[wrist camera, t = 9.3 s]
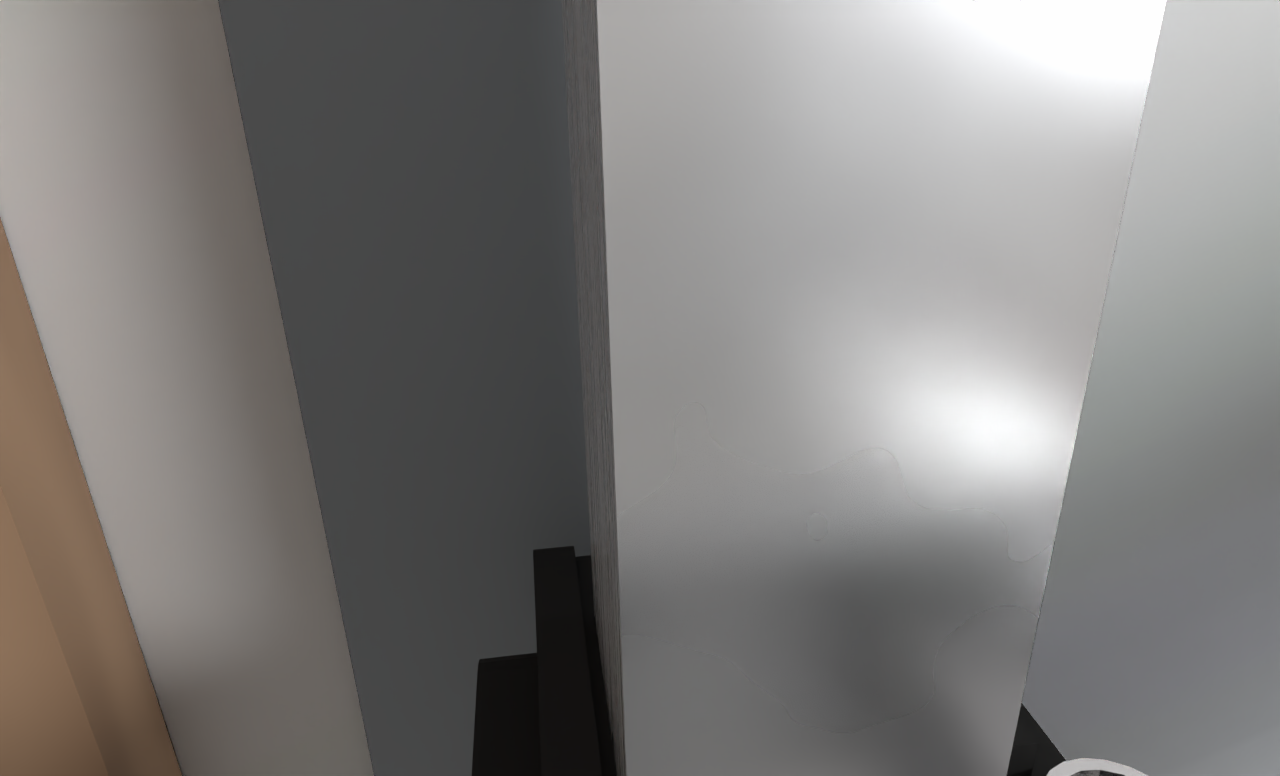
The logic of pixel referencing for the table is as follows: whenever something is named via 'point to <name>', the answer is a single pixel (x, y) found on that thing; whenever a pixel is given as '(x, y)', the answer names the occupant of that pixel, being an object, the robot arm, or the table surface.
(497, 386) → the rubber mat
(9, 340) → the walnut rail stand
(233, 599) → the table surface
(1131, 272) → the table surface
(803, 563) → the steel rail
